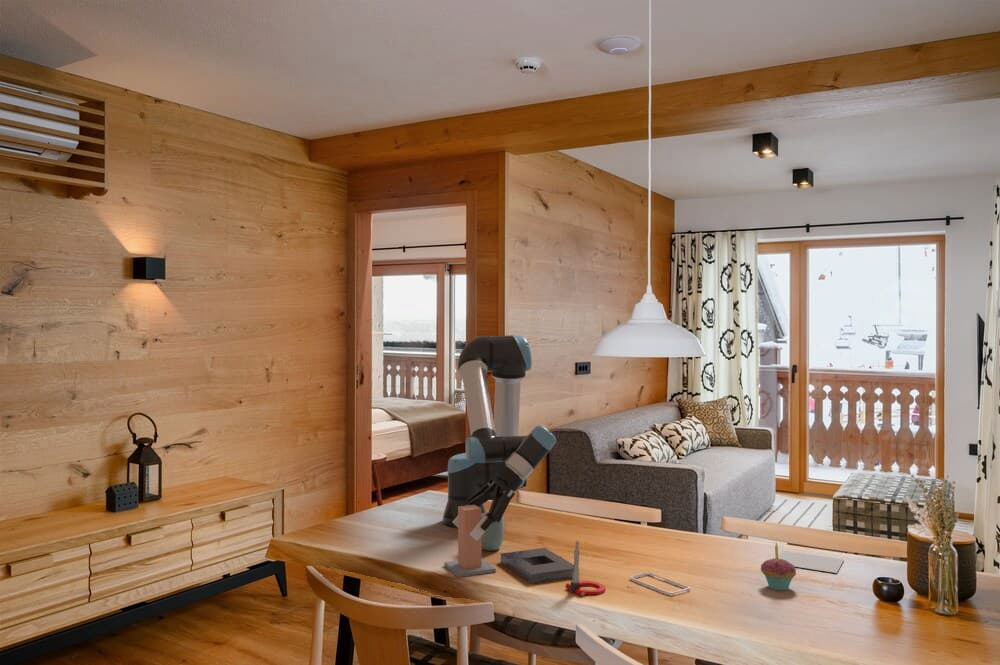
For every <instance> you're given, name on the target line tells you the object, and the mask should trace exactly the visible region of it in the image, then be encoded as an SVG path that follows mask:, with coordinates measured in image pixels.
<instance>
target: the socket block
mask: <svg viewBox="0 0 1000 665" xmlns="http://www.w3.org/2000/svg"><path fill="white" fill-rule="evenodd" d="M501 562H502V564H503V565H504V566H505V565H506V567H507V568H508V567H509V568H508V569H510V570H511V569H512V570H513V572H514V573H515V572H516V573H515V574H517V575H518V576H519V575H520V577H521V578H522V577H523V578H522V579H523V580H525V579H526V580H527V582H528V581H529V582H530V583H529V582H528V583H529V584H531V583H535V584H540V583H539V582H542V583H547V582H546V581H548V582H555V581H560V580H561V581H562V580H567V579H572V577H573V572H574V563H572V562H571V561H569V560H567V559H565V558H563V557H562V556H560V555H559V554H557V553H555V552H553V551H552V550H549V549H548V548H547V547H541V548H534V549H533V548H532V549H526V550H525V549H524V550H517V551H510V552H509V551H508V552H502V553H500V563H501ZM512 570H511V571H512ZM578 572H579V573H580V568H579V569H578ZM526 580H525V581H526ZM554 580H555V581H554Z"/></svg>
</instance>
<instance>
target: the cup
mask: <svg viewBox="0 0 1000 665" xmlns="http://www.w3.org/2000/svg"><path fill="white" fill-rule="evenodd" d="M487 513H488V512H486V513H483V514H482V519H483V517H484V516H486V515H487ZM485 514H486V515H485ZM498 516H499V515H498ZM504 520H505V519H504V515H503V516H502V518H501V520H500V522H497V521H495V522H493V523H492V524H491V525H490V526H489V528H488V529H487V530H486V531H485V532H484V534H483V535H482V550H483V551H487V552H488V551H491V552H493V551H497V550H499V549H501V547H502V545H503V541H504V532H505V531H504V529H505V528H504V527H505V526H504V524H505V523H504V522H505V521H504Z"/></svg>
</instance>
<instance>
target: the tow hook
mask: <svg viewBox="0 0 1000 665" xmlns="http://www.w3.org/2000/svg"><path fill="white" fill-rule="evenodd" d="M579 544H580V541H577V540H576V541H575V549H574V553H573V555H574V556H573V557H574V559H573V565H574V572H573V577H572V578H571V579H572V581H570V583H569V582H567V583H566V584H565V586H564V587H565V589H566V590H568V591H570V592H572V593H573V594H575V595H578V596H581V597H582V596H583V597H585V595H591V596H592V594H593V595H594V594H596V595H601V594H600V593H602V594H604V593H605V592H606V585H604V584H603V583H599V582H597V581H590V580H581V581H580V571H579V572H578V569H579V570H580V566H579V563H580V548H579ZM586 585H588V586H589V587H594V586H596V587H595V588H596V589H586V588H582V589H581V587H583V586H584V587H585V586H586ZM597 587H598V588H597ZM603 592H604V593H603Z"/></svg>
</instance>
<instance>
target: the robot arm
mask: <svg viewBox="0 0 1000 665" xmlns="http://www.w3.org/2000/svg"><path fill="white" fill-rule="evenodd" d="M532 361H533V360H532V352H531V348H530V344H529V341H528V340H527V338H526V337H524V336H523V335H513V334H511V335H480V336H477V337H474V338H473V339H471V340H469V342H468V343H466V344H465V346H464V347H463V348H462V350H461V352H460V353H459V357H458V361H457V371H458V376H459V377H460V378H461V379H462V383H463V384H462V385H463V390H464V397H465V404H466V409H467V418H468V424H469V432H470V437H467V438H466V440H465V452H463V453H458V454H455V455H453V456H451V457H450V458H449V459H448V462H447V471H446V472H447V502H446V505H445V508H444V511H443V514H442V515H443V516H442V524H443V525H445V526H448V527H453V528H458V506H467V505H476V506H478V507H480V508H481V509H482V514H483V513H487V515H486V514H485V515H486V516H484V517H483V519H482V520H481V521H480V522H479V523H478V525H477V526H476V527H475V528H474V529H473V531H472V532H471V533H470V534H469V535H470V536H471V537H472V538H474V539H475V540H476V541H478V540H479V538H480V537H481V536H482V535H483V534H484V532H485V531H486V530H487V529H488V528H489V526H490V525H491V524H492V523H493V522H495V521H497V522H500V520H501V518H502V516H503V517H504V514H505V512H506V511H507V509H508V506H509V504H510V503H511V500H512V499H513V498H514V496H515V495H516V493H515V492H516V491H518V490H519V489H520V488H522V487H523V485H524V484H525V481H526V480H527V478H528V477H530V476H531V474H532V472H533V471H534V470H535V468H537V467H538V465H539V464H540V463H541V462H542V460H543V459H544V458H545V457H546V456H547V455H548V454H549V453H550V451H552V448H554V446H555V444H556V443H557V439H556V436H555V435H554V434H553V433H552V432H551V431H550V430H549V429H547V428H546V427H544V426H543V425H541V424H539V425H536V426H535V427H534V428H533V429H532V430H531V431H530V433H529V434H527V435H519V432H520V431H519V426H520V406H521V403H520V401H521V385H522V384H521V381H523V379H524V378H526V373H527V372H528V371H530V370H531V369H532V366H533V365H532V364H533V363H532ZM489 371H490V375H491V377H492V378H493V379H494V381H495V383H494V385H495V386H494V406H493V408H494V409H492V402H491V397H490V393H489V386H488V381H487V375H488V372H489ZM488 501H491V505H490V507H489V509H488V512H487V511H486V508H485V506H484V504H485V503H487V502H488ZM498 515H499V516H498Z"/></svg>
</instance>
